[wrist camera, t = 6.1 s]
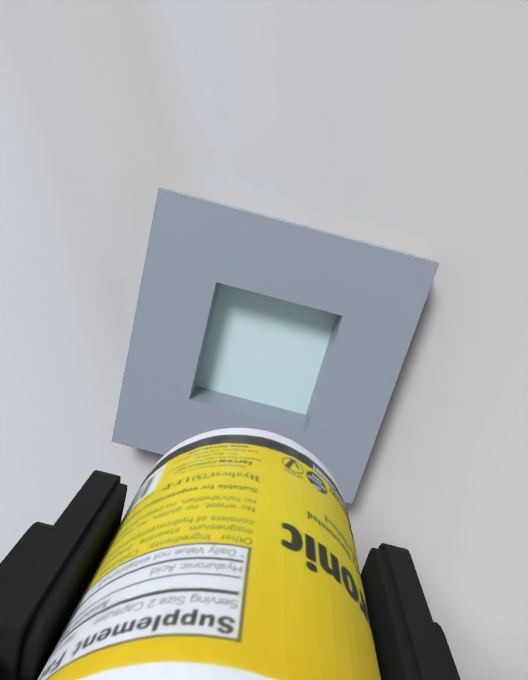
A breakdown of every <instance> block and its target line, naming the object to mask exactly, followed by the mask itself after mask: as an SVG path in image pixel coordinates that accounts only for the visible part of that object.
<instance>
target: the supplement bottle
mask: <svg viewBox="0 0 528 680" xmlns="http://www.w3.org/2000/svg"><path fill="white" fill-rule="evenodd" d="M38 680H381V677H380V672H379V666H378V661H377V656H376V651H375V645H374V640H373V636H372V631H371V626H370V621H369V616H368V610H367V605H366V600H365V594H364V590H363V585H362V580H361V576H360V571H359V566H358V560H357V555H356V550H355V544H354V539H353V534H352V530H351V525H350V521H349V516H348V512H347V508H346V505H345V502H344V499H343V496H342V493H341V491H340V489H339V487H338V485H337V483H336V481H335V479H334V478H333V476H332V475H331V474H330V472H329V471H328V470H327V468H326V467H325V466H324V465H323V464H322V463H321V462H320V461H319V460H318V459H317V458H316V457H315V456H314V455H313V454H312V453H310V452H309V451H308V450H307V449H305V448H304V447H302V446H301V445H299V444H298V443H296V442H294V441H292V440H290V439H288V438H286V437H283V436H281V435H278V434H276V433H272V432H269V431H265V430H259V429H252V428H225V429H218V430H213V431H209V432H205V433H202V434H199V435H196V436H194V437H191V438H189V439H187V440H185V441H183V442H182V443H180V444H178V445H177V446H175V447H174V448H172V449H171V450H170V451H169V452H167V453H166V454H165V455H164V456H163V457H162V458H161V459H160V460H159V461H158V462H157V463H156V464H155V466H154V467H153V468H152V470H151V471H150V473H149V474H148V476H147V477H146V479H145V480H144V482H143V483H142V485H141V487H140V489H139V491H138V492H137V494H136V496H135V498H134V500H133V501H132V503H131V505H130V507H129V509H128V511H127V513H126V515H125V517H124V518H123V520H122V522H121V524H120V526H119V528H118V530H117V531H116V533H115V535H114V537H113V539H112V541H111V543H110V545H109V547H108V548H107V550H106V552H105V554H104V556H103V558H102V560H101V562H100V564H99V565H98V567H97V569H96V571H95V573H94V575H93V577H92V579H91V580H90V582H89V584H88V586H87V588H86V590H85V591H84V593H83V595H82V597H81V599H80V601H79V603H78V605H77V606H76V608H75V610H74V611H73V613H72V615H71V617H70V619H69V621H68V623H67V625H66V627H65V629H64V630H63V632H62V634H61V636H60V638H59V640H58V642H57V644H56V646H55V648H54V650H53V652H52V653H51V655H50V657H49V659H48V661H47V663H46V665H45V667H44V669H43V670H42V672H41V674H40V676H39V678H38Z"/></svg>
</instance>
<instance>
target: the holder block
mask: <svg viewBox="0 0 528 680" xmlns="http://www.w3.org/2000/svg"><path fill="white" fill-rule="evenodd" d="M438 265H439V263H437V262H434V261H432V260H429V259H426V258H423V257H420V256H416V255H412V254H408V253H405V252H401V251H397V250H394V249H390V248H386V247H382V246H379V245H375V244H371V243H367V242H364V241H360V240H356V239H353V238H349V237H345V236H341V235H338V234H334V233H330V232H327V231H323V230H319V229H315V228H312V227H308V226H304V225H300V224H297V223H293V222H289V221H286V220H282V219H278V218H274V217H271V216H267V215H263V214H260V213H256V212H252V211H248V210H245V209H241V208H237V207H234V206H230V205H226V204H222V203H219V202H215V201H211V200H207V199H204V198H200V197H196V196H193V195H189V194H185V193H181V192H178V191H174V190H169V189H162V188H159V189H158V194H157V199H156V205H155V210H154V216H153V221H152V226H151V232H150V237H149V243H148V248H147V253H146V259H145V264H144V270H143V275H142V280H141V286H140V291H139V297H138V302H137V307H136V313H135V318H134V324H133V329H132V334H131V340H130V345H129V351H128V356H127V361H126V367H125V372H124V378H123V383H122V388H121V394H120V399H119V405H118V410H117V415H116V421H115V426H114V432H113V437H112V442H115V443H119V444H123V445H127V446H131V447H134V448H138V449H142V450H146V451H150V452H154V453H157V454H161V455H165V454H166V453H167V452H169V451H170V450H171V449H172V448H174V447H175V446H177V445H178V444H180V443H182V442H183V441H185V440H187V439H189V438H191V437H194V436H196V435H199V434H202V433H205V432H209V431H213V430H218V429H225V428H252V429H259V430H265V431H269V432H272V433H276V434H278V435H281V436H283V437H286V438H288V439H290V440H292V441H294V442H296V443H298V444H299V445H301V446H302V447H304V448H305V449H307V450H308V451H309V452H310V453H312V454H313V455H314V456H315V457H316V458H317V459H318V460H319V461H320V462H321V463H322V464H323V465H324V466H325V467H326V468H327V470H328V471H329V472H330V474H331V475H332V476H333V478H334V479H335V481H336V483H337V485H338V487H339V489H340V491H341V493H342V496H343V499H344V502H346V503H350V504H352V503H353V500H354V497H355V494H356V492H357V489H358V486H359V483H360V481H361V478H362V475H363V472H364V470H365V467H366V464H367V461H368V459H369V456H370V453H371V450H372V447H373V445H374V442H375V439H376V436H377V434H378V431H379V428H380V425H381V423H382V420H383V417H384V414H385V412H386V409H387V406H388V403H389V401H390V398H391V395H392V392H393V389H394V387H395V384H396V381H397V378H398V376H399V373H400V370H401V367H402V365H403V362H404V359H405V356H406V354H407V351H408V348H409V345H410V343H411V340H412V337H413V334H414V331H415V329H416V326H417V323H418V320H419V318H420V315H421V312H422V309H423V307H424V304H425V301H426V298H427V296H428V293H429V290H430V287H431V285H432V282H433V279H434V276H435V274H436V271H437V268H438Z"/></svg>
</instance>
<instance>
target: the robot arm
mask: <svg viewBox="0 0 528 680" xmlns="http://www.w3.org/2000/svg"><path fill="white" fill-rule="evenodd" d="M126 493H127V485H125V484H121V483H120V476H117V475H114V474H110V473H106V472H102V471H98V470H95V471H94V472H93V473H92V474H91V476H90V477H89V478H88V480H87V481H86V482H85V484H84V485H83V486H82V488H81V489H80V490H79V492H78V493H77V494H76V496H75V497H74V499H73V500H72V501H71V503H70V504H69V505H68V507H67V508H66V509H65V511H64V512H63V513H62V515H61V516H60V517H59V519H58V520H57V521H56V523H55V524H54V525H53V526H52V525H49V524H45V523H41V522H36V523H34V524H33V525H32V526H31V527H30V528H29V529H28V530H27V531H26V533H25V534H24V535H23V536H22V538H21V539H20V540H19V541H18V543H17V544H16V545H15V546H14V547H13V549H12V550H11V551H10V552H9V554H8V555H7V556H6V557H5V558H4V560H3V561H2V562H1V563H0V680H38V678H39V676H40V674H41V672H42V670H43V669H44V667H45V665H46V663H47V661H48V659H49V657H50V655H51V653H52V652H53V650H54V648H55V646H56V644H57V642H58V640H59V638H60V636H61V634H62V632H63V630H64V629H65V627H66V625H67V623H68V621H69V619H70V617H71V615H72V613H73V611H74V610H75V608H76V606H77V605H78V603H79V601H80V599H81V597H82V595H83V593H84V591H85V590H86V588H87V586H88V584H89V582H90V580H91V579H92V577H93V575H94V573H95V571H96V569H97V567H98V565H99V564H100V562H101V560H102V558H103V556H104V554H105V552H106V550H107V548H108V547H109V545H110V543H111V541H112V539H113V537H114V535H115V533H116V531H117V530H118V528H119V526H120V523H121V518H122V513H123V508H124V503H125V498H126ZM360 576H361V580H362V585H363V590H364V594H365V600H366V605H367V610H368V616H369V621H370V626H371V631H372V636H373V640H374V645H375V651H376V656H377V661H378V666H379V672H380V677H381V680H460V677H459V674H458V671H457V668H456V666H455V663H454V660H453V657H452V654H451V652H450V649H449V646H448V643H447V640H446V637H445V635H444V632H443V630H442V628H441V626H440V625H439V624H438V623H436V622H433V620H432V617H431V614H430V611H429V608H428V605H427V602H426V599H425V596H424V593H423V590H422V587H421V584H420V582H419V579H418V576H417V573H416V570H415V567H414V564H413V561H412V558H411V555H410V553H409V551H408V550H407V549H404V548H400V547H396V546H392V545H388V544H384V543H383V544H381V545H380V546H379V548H378V549H376V548H372V549H371V550H370V552H369V554H368V557H367V560H366V562H365V565H364V568H363V570H362V573H361V575H360Z"/></svg>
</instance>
